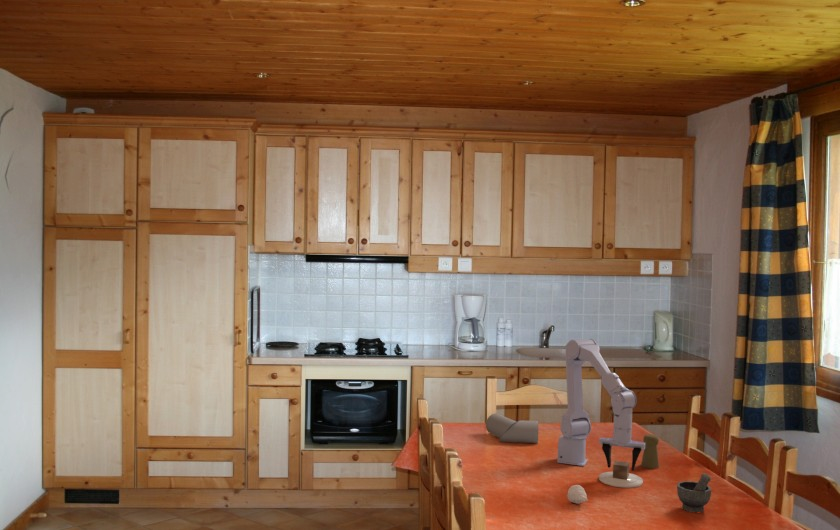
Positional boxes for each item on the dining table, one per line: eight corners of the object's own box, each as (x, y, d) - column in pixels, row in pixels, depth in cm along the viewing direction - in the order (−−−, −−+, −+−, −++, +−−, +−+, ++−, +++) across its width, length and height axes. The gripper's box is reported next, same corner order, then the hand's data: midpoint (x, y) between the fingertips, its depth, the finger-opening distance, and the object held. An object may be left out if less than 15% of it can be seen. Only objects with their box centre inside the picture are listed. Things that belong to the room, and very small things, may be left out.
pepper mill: (659, 469, 270) (661, 437, 269) (641, 467, 271) (643, 436, 271) (658, 464, 276) (659, 433, 275) (640, 462, 277) (641, 432, 277)
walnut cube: (612, 477, 255) (613, 464, 255) (615, 474, 259) (615, 460, 259) (626, 479, 253) (627, 466, 253) (628, 476, 257) (629, 462, 257)
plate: (595, 483, 252) (595, 480, 252) (602, 471, 265) (602, 468, 265) (639, 490, 247) (640, 486, 247) (645, 477, 260) (645, 474, 260)
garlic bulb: (577, 509, 228) (578, 490, 228) (565, 502, 234) (566, 484, 234) (592, 507, 231) (593, 488, 230) (580, 500, 236) (581, 482, 236)
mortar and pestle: (669, 505, 234) (670, 465, 233) (695, 502, 237) (696, 463, 236) (693, 518, 223) (695, 477, 223) (720, 515, 226) (722, 474, 226)
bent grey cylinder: (485, 441, 296) (538, 443, 294) (486, 413, 298) (539, 415, 296) (485, 439, 313) (535, 442, 312) (486, 413, 315) (535, 415, 314)
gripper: (598, 427, 254) (596, 468, 255) (643, 433, 249) (642, 474, 249) (601, 422, 261) (600, 462, 261) (646, 428, 255) (644, 469, 256)
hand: (621, 468), depth 256 cm, fingers open, 7 cm apart
